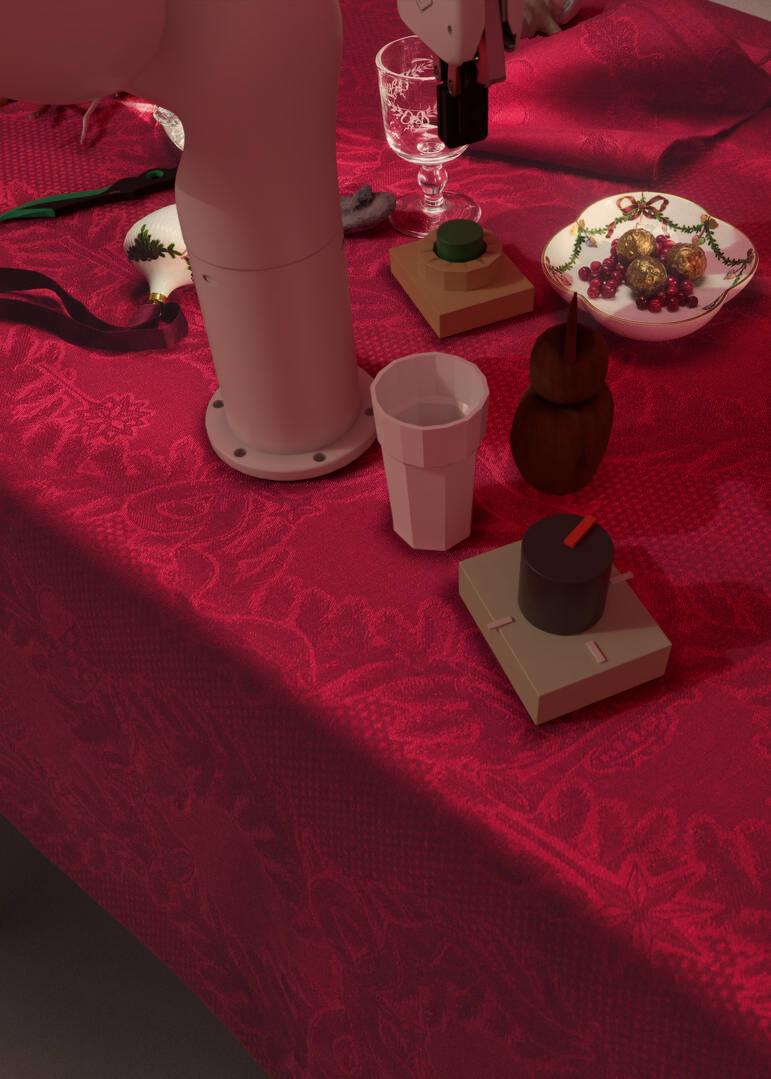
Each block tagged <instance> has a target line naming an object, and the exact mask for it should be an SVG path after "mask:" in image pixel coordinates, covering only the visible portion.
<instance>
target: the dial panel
mask: <svg viewBox="0 0 771 1079" xmlns="http://www.w3.org/2000/svg"><path fill="white" fill-rule="evenodd" d="M521 543H522V539H519V540H518V541H514V542H511V543H509V544H505V545H503V546H499V547H497V548H494V549H491V550H488V551H485V552H483V553H480V554H478V555H477V554H476V555H474V556H471V557H469V558H466V559H464V560H461V561H459V562H458V595H459V596H460V598H461V599H462V601H463V603H464V605H465V607H466V608H467V610H468V612H469V613H470V615H471V617H472V619H473V620H474V622H475V623H476V625H477V628H478V629H479V631H480V633H481V634H482V636H483V637H484V639H485V641H486V642H487V644H488V646H489V648H490V649H491V651H492V652H493V655H494V657H495V658H496V660H497V662H498V663H499V665H500V666H501V668H502V671H503V672H504V674H505V675H506V677H507V678H508V680H509V682H510V684H511V686H512V688H513V689H514V691H515V693H516V694H517V696H518V698H519V699H520V701H521V703H522V704H523V706H524V708H525V709H526V711H527V713H528V714H529V716H530V718H531V720H532V721H533V723H534V725H535V726H539V725H541V724H544V723H547V722H549V721H551V720H554V719H556V718H559V717H562V716H564V715H566V714H569V713H572V712H574V711H576V710H579V709H582V708H584V707H586V706H589V705H592V704H594V703H596V702H599V701H602V700H605V699H607V698H609V697H612V696H614V695H617V694H620V693H622V692H624V691H627V690H629V689H632V688H634V687H637V686H639V685H642V684H645V683H647V682H649V681H652V680H654V679H657V678H659V677H662V676H664V675H665V672H666V669H667V665H668V661H669V658H670V654H671V650H672V648H673V643H672V642H671V641H670V639H669V638H668V636H667V635H666V634H665V632H664V631H663V629H662V628H661V627H660V625H659V623H657V621H656V620H655V619H654V617H653V616H652V615H651V613H650V612H649V611H648V609H647V608H646V607H645V605H644V604H643V603H642V601H641V600H640V598H639V597H638V595H637V594H636V593H635V591H634V590H633V589H632V588H631V586H630V584H628V582H627V580H629V579H632V578H634V573H633V572H632V571H631V570H629V571H627V572H624V573H621V572H620V571H619V570H618V569H617V567H616V565H614V563H613V564H612V570H611V576H610V581H609V587H608V593H607V598H606V604H605V609H604V613H603V615H602V617H601V618H600V620H599V621H598V622H597V623H596V624H595V625H594V626H593V627H591V628H590V629H588V630H586V631H584V632H582V633H578V634H574V635H555V634H550V633H547V632H544V631H542V630H540V629H538V628H536V627H535V626H533V625H532V624H531V623H530V622H528V620H527V619H526V618H525V617H524V616H523V614H522V612H521V610H520V608H519V604H518V587H519V573H520V558H521Z"/></svg>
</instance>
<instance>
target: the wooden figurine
mask: <svg viewBox="0 0 771 1079" xmlns="http://www.w3.org/2000/svg"><path fill="white" fill-rule="evenodd" d="M578 302H579V300H578V291H573V295H572V298H571V299H570V303H569V307H568V313H567V318H566V322H560V323H556V324H554V325H552V326H550V327H548V328H546V329H545V330H544V331H542V332H541V333H540V334H539V335H538V336H537V338H536V340H535V342H534V343H533V346H532V349H531V351H530V355H529V361H528V379H529V381H530V384H529V385H528V386H527V387H526V388H525V390H524V391H523V393H522V395H521V397H520V399H519V401H518V404H517V406H516V408H515V411H514V415H513V419H512V423H511V426H510V430H509V448H510V453H511V456H512V459H513V461H514V463H515V466H516V467H517V469H518V471H519V474H520V476H521V477H522V479H523V480H524V481H525V483H526V484H527V485H529V486H530V487H531V488H533V489H534V490H536V491H538V492H540V493H543V494H545V495H547V496H565V495H570V494H574V493H577V492H578V491H579V490H581V489H583V488H585V487H586V485H587V484H588V483H590V482H591V480H593V478H594V476H595V474H596V472H597V471H598V469H599V467H600V465H601V463H602V461H603V459H604V456H605V454H606V453H607V449H608V446H609V443H610V441H611V434H612V431H613V423H614V418H615V401H614V397H613V393H612V391H611V389H610V387H609V385H608V383H607V382H606V379H607V377H608V371H609V363H610V358H609V348H608V344H607V342H606V340H605V338H604V337H603V335H602V334H601V333H600V332H599V331H597V330H596V329H594V328H593V327H592V326H590V325H587V324H585V323H581V322H578Z"/></svg>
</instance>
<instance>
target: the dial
mask: <svg viewBox="0 0 771 1079" xmlns="http://www.w3.org/2000/svg"><path fill="white" fill-rule="evenodd" d="M521 540H522V543H521V558H520V573H519V587H518V604H519V608H520V610H521V612H522V614H523V616H524V617H525V618H526V619H527V620H528V622H530V623H531V624H532V625H533V626H535V627H536V628H538V629H540V630H542V631H544V632H547V633H550V634H555V635H574V634H578V633H582V632H584V631H586V630H588V629H590V628H591V627H593V626H594V625H595V624H596V623H597V622H598V621H599V620H600V618H601V617H602V615H603V613H604V609H605V604H606V598H607V593H608V587H609V581H610V576H611V570H612V564H614V558H615V546H614V541H613V539H612V537H611V535H610V534H609V533H608V531H607V530H606V528H604V527H603V526H602V525H601V524H599V523H598V522H597V518H596V517H594V516H593V515H591V514H586V515H585V516H583V515H580V514H576V513H575V514H574V513H556V514H550V515H547V516H544V517H542V518H540V519H538V520H536V521H535V522H533V523H532V524H531V525H530V526H529V527H528V528H527V530H526V531H525V533H524V534H523V536H522V539H521Z"/></svg>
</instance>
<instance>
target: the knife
mask: <svg viewBox="0 0 771 1079" xmlns="http://www.w3.org/2000/svg"><path fill="white" fill-rule="evenodd" d="M178 166H179V164H178V165H177V166H175V167H170V168H167V167H166V168H165V167H162V168H161V167H154V168H153V167H152V168H150V169H146V170H145V171H143V172H142V173H141V174H139V175H138V176H129V177H127V176H126V177H123V178H121V179H118V180H117V181H114V182H113V183H112V184H110V185H109V186H106V187H102V188H98V189H90V190H83V191H75V192H74V191H73V192H67V193H60V194H54V195H49V196H44V197H40V198H36V199H35V200H31V201H28V202H25V203H22V204H20V205H18V206H16V207H14V208H12V209H10V210H7V211H5V212H3V213H2V214H0V222H4V221H8V220H12V219H19V218H45V217H47V218H48V217H49V218H57V217H59V216H62V215H64V214H67V213H71V212H74V211H77V210H82V209H85V208H89V207H94V206H97V205H101V204H106V203H111V202H118V201H124V200H136V199H137V198H138V197H140V196H143V195H146V194H151V193H155V192H158V191H165V190H167V189H171V188H175V181H176V174H177V170H178Z"/></svg>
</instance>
